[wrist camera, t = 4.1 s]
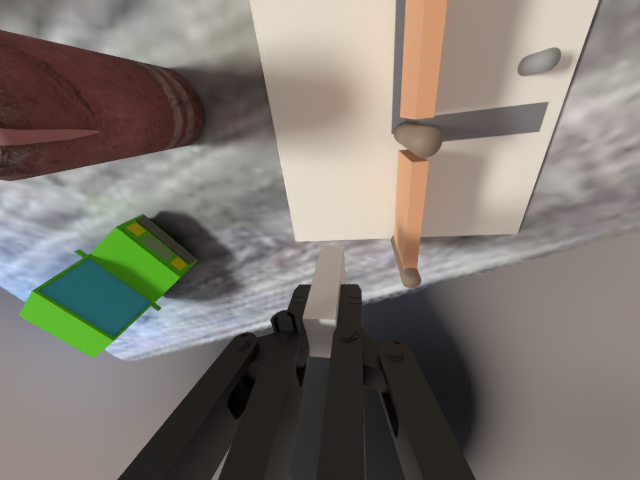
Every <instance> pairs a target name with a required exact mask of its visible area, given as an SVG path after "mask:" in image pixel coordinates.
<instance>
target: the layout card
mask: <svg viewBox="0 0 640 480" xmlns="http://www.w3.org/2000/svg"><path fill="white" fill-rule="evenodd" d="M598 2H599V0H447V8H446V17H445V26H444V34H443V43H442V52H441V61H440V69H439V78H438V87H437V96H436V104H435V113H434V117H432V118H424V119H416V120H415V119H408V118H400V107H401V87H402V67H403V46H404V26H405V6H406V0H250V6H251V11H252V16H253V21H254V26H255V32H256V37H257V42H258V47H259V52H260V58H261V63H262V68H263V73H264V78H265V84H266V89H267V94H268V99H269V104H270V109H271V115H272V120H273V125H274V130H275V135H276V141H277V146H278V151H279V156H280V161H281V167H282V172H283V177H284V182H285V187H286V192H287V198H288V203H289V208H290V213H291V218H292V224H293V229H294V234H295V239H296V242H297V241H326V240H355V239H384V238H392V236H394V227H395V207H396V187H397V167H398V150H405V149H407V148H405V147H404V146H403V145H401V144H400V143H398V142H397V141H396V140H395V138H394V131H395V128H396V127H397V126H398V125H399V124H400V123H402V122H409V123H414V124H419V125H424V126H429V127H434V128H436V129H438V130H439V131H440V132H441V134H442V138H443V141H442V145H441V147H440V149H439V150H438V152H437V153H436V154H434V155H433V156H431V157H428V158H425V159H427V160H428V161H429V166H428V174H427V183H426V192H425V201H424V209H423V218H422V227H421V236H420V237H442V236H470V235H499V234H517V233H518V231H519V228H520V225H521V222H522V219H523V216H524V213H525V211H526V208H527V205H528V202H529V199H530V196H531V193H532V190H533V188H534V185H535V182H536V179H537V176H538V173H539V170H540V168H541V165H542V162H543V159H544V156H545V153H546V150H547V148H548V145H549V142H550V139H551V136H552V133H553V130H554V127H555V125H556V122H557V119H558V116H559V113H560V110H561V107H562V105H563V102H564V99H565V96H566V93H567V90H568V87H569V85H570V82H571V79H572V76H573V73H574V70H575V67H576V65H577V62H578V59H579V56H580V53H581V50H582V47H583V44H584V42H585V39H586V36H587V33H588V30H589V27H590V24H591V22H592V19H593V16H594V13H595V10H596V7H597V4H598Z"/></svg>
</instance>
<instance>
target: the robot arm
mask: <svg viewBox="0 0 640 480" xmlns="http://www.w3.org/2000/svg"><path fill="white" fill-rule="evenodd" d="M345 277H346V276H345V262H344V249H343V245H329V246H322V248H321V251H320V255H319V259H318V263H317V266H316V270H315V274H314V277H313V281H312V285H299V286H298V287H297V288H296V289H295V290H294V293H293V295H292V298H291V301H290V304H289V307H288V309H287V310H282V311H280V312H278V313H276V314H275V315H274V316H273V317H272V318H271V320H270V321H271V324H272V327H273V330H274V333H272V334H269V335H266V336H262V337H258V338H256V336H255V335H254V334H253V333H249V332H246V333H242V334H240V335H238V336H236V337H235V338H234V339H233V340H232V341H231V342H230V343H229V344H228V346H227V347H226V348H225V349H224V351H223V352H222V353H221V354H220V356H219V357H218V358H217V359H216V360H215V362H214V363H213V364H212V365H211V366H210V368H209V369H208V370H207V371H206V372H205V374H204V375H203V376H202V378H201V379H200V380H199V381H198V382H197V383H196V385H195V386H194V387H193V388H192V390H191V391H190V392H189V393H188V394H187V396H186V397H185V398H184V399H183V400H182V402H181V403H180V404H179V405H178V407H177V408H176V409H175V410H174V411H173V413H172V414H171V415H170V417H169V418H168V419H167V420H166V421H165V422H164V424H163V425H162V426H161V427H160V429H159V430H158V431H157V432H156V433H155V435H154V436H153V437H152V438H151V440H150V441H149V442H148V443H147V444H146V446H145V447H144V448H143V449H142V450H141V452H140V453H139V454H138V455H137V457H136V458H135V459H134V460H133V462H132V463H131V464H130V465H129V466H128V467H127V469H126V470H125V471H124V473H123V474H122V475H121V476H120V477H119V479H118V480H211V479H212V477H213V476H214V474H215V472H216V470H217V468H218V467H219V465H220V463H221V461H222V460H223V458H224V456H225V455H226V453H227V451H228V449H229V447H230V446H231V447H230V450H229V453H228V455H227V458H226V461H225V463H224V466H223V468H222V471H221V474H220V476H219V479H218V480H287V476H288V471H289V466H290V461H291V455H292V450H293V445H294V440H295V434H296V429H297V424H298V419H299V414H300V408H301V403H302V398H303V393H304V387H305V382H306V377H307V372H308V360H307V358H308V353H309V352H310V356H315V357H330V365H329V374H328V383H327V391H326V401H325V409H324V417H323V426H322V435H321V444H320V452H319V453H320V454H319V461H318V471H317V479H316V480H366V469H365V467H366V466H365V424H364V423H365V419H364V385H366V386H368V387H371V388H373V389H375V390H377V391H379V394H380V397H381V400H382V404H383V407H384V410H385V414H386V417H387V420H388V423H389V427H390V430H391V433H392V437H393V440H394V443H395V446H396V449H397V453H398V456H399V459H400V463H401V466H402V470H403V473H404V476H405V479H406V480H476V479H475V477H474V475H473V473H472V471H471V469H470V467H469V465H468V463H467V461H466V459H465V458H464V455H463V453H462V451H461V449H460V447H459V445H458V443H457V441H456V439H455V437H454V435H453V433H452V431H451V429H450V427H449V425H448V423H447V421H446V419H445V417H444V415H443V413H442V411H441V409H440V408H439V405H438V403H437V401H436V399H435V397H434V395H433V393H432V391H431V389H430V387H429V385H428V383H427V381H426V379H425V377H424V375H423V373H422V371H421V369H420V367H419V365H418V363H417V361H416V359H415V357H414V355H413V353H412V351H411V349H410V348H409V347H408V346H407V344H405V343H404V342H402V341H401V340H397V339H387V340H384V341H383V342H379V341H377V340H374V339H372V338H370V337H369V336H367V334H366V333H365V332H364V330H363V328H362V295H361V289H360V287H359V286H358V284H345ZM231 444H232V445H231Z"/></svg>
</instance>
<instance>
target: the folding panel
mask: <svg viewBox="0 0 640 480" xmlns="http://www.w3.org/2000/svg"><path fill="white" fill-rule="evenodd" d="M428 166H429V161H428V160H427V159H425V158H421V157H418V156H417V155H415V154H414V153H412V152H411V151H410V150H408V149H405V150H398V167H397V187H396V207H395V227H394V236H392V238H391V243H392V247H393V250H394V254H395V258H396V261H397V265H398V268H399V272H400V276H401V279H402V283H403V285H404V286H405V287H408V288H414V287H417V286H418V285H419V284H420V283H421V278H420V275H419V273H418V270H417V262H418V253H419V244H420V236H421V227H422V218H423V209H424V201H425V192H426V183H427V174H428Z"/></svg>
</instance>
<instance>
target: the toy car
mask: <svg viewBox="0 0 640 480" xmlns="http://www.w3.org/2000/svg"><path fill="white" fill-rule="evenodd" d="M75 253H77V254H78V255H80V256H81V257H83V259H81V260H80V261H78V262H77V263H75V264H73V265H72V266H70V267H69V268H67V269H66V270H64V271H63V272H61V273H59V274H58V275H56V276H55V277H53V278H52V279H50V280H48V281H47V282H45V283H44V284H42V285H41V286H39V287H37V288H36V289H34V290H33V291H32V292H31V294H30V296H29V297H28V299H27V301H26V303H25V305H24V306H23V309H22V310H21V312H20V314H19V316H20V317H22V318H24V319H26V320H27V321H29V322H31V323H33V324H35V325H36V326H38V327H40V328H41V329H43V330H45V331H47V332H48V333H50V334H52V335H54V336H56V337H57V338H59V339H61V340H62V341H64V342H66V343H68V344H69V345H71V346H73V347H75V348H76V349H78V350H80V351H82V352H83V353H85V354H87V355H89V356H90V357H92V358H94V357H95V356H97V355H98V354H99V353H100V352H101V351H102V350H104V349H105V348H106V347H107V346H108V345H110V344H111V343H112V342H113V341H114V340H115V339H116V338H117V337H118V336H120V335H121V334H122V333H123V332H124V331H125V330H126V329H127V328H128V327H129V326H130V325H131V324H132V323H133V322H134V321H135V320H137V319H138V318H139V317H140V316H141V315H142V314H143V313H144V312H145V311H146V310H147V309H148V308H149V307H150V306H152V307H153V308H155V309H156V310H157V311H159V310H160V309H161V307H159V306H158V305H157V304H156V303H155V302H156V301H157V300H158V299H159V298H160V297H161V296H162V295H163V294H164V293H165V292H166V291H167V290H168V289H169V288H170V287H171V286H172V285H173V284H174V283H176V282H177V281H178V280H179V279H180V278H181V276H183V275H184V274H185V273H186V272H187V271H188V270H189V269H190V268H191V267H192V266H193V265H194V264H195V263H196V262H197V261H198V260H197V259H196V258H195V257H194V256H192V255H191V254H190V253H189V252H188V251H186V250H185V249H184V248H183V247H182V246H181V245H179V244H178V243H177V242H176V241H175V240H173V239H172V238H171V237H170V236H169V235H167V234H166V233H165V232H164V231H163V230H161V229H160V228H159V227H158V226H157V225H156V224H154V223H153V222H152V221H151V220H150V219H148V218H147V217H146V216H145V215H144V214H142V215H140V216H138V217H136V218H134V219H132V220H130V221H128V222H126V223H124V224H121V225H119V226H117V227H116V228H115V229H114V230H113V231H112V232H111V233H110V234H109V235H108V236H107V237H106V238H105V239H104V240H103V241H102V242H101V243H100V244H99V245H98V246H97V247H96V248H95V249H94V250H93V251H92V252H91V253H90V254H89V255H87V254H86V253H84V252H83V251H81V250H77V251H75Z"/></svg>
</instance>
